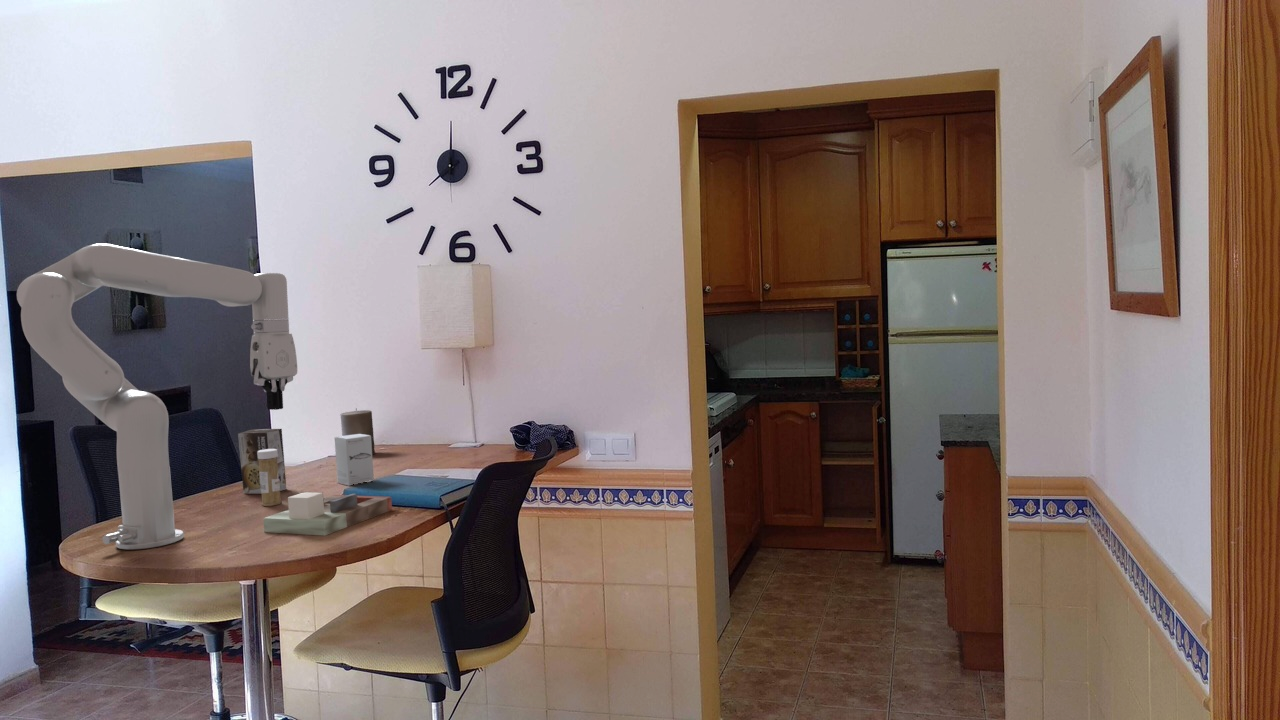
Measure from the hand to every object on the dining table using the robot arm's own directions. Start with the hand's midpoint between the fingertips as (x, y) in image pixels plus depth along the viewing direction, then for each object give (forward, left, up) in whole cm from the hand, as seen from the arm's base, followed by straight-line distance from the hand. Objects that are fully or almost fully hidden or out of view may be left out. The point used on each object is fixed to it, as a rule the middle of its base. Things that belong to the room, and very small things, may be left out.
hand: (275, 409), depth 214 cm
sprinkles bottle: (+10, +13, -25) cm, 30 cm away
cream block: (-9, -15, -22) cm, 28 cm away
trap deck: (-1, -14, -25) cm, 29 cm away
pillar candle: (+76, +38, -25) cm, 89 cm away
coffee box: (+23, +27, -25) cm, 43 cm away
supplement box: (+37, +9, -25) cm, 46 cm away
